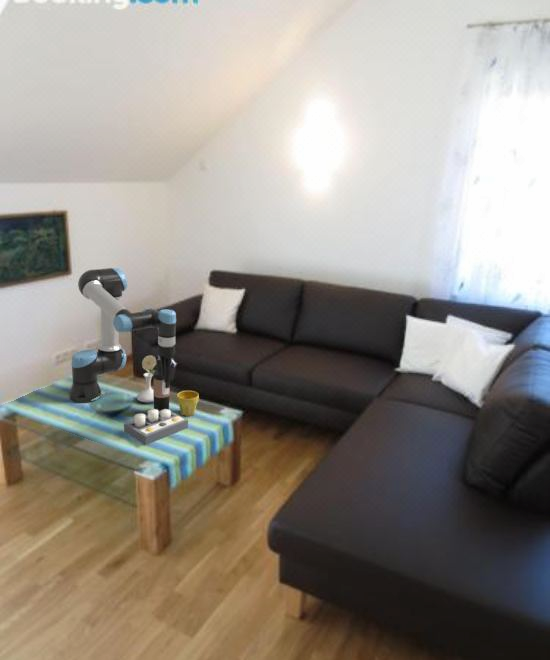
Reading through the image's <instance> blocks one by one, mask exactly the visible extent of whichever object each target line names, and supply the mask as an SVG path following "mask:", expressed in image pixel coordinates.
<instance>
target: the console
mask: <svg viewBox="0 0 550 660" xmlns="http://www.w3.org/2000/svg"><path fill="white" fill-rule="evenodd" d="M160 416H161V411H158V422H156V423H153V424H151V423H149V422H148V414H146V415H145V427H143V428H140V429H138V428H136V427H135V419H132V420H130V421H127V422H124V423H123V432H124V433H126V434H127V435H128V434H129V435H128V436H131V437H132V438H133V439H135V440H137V441H139V442H140V443H141V444H143V445H145V446H147V445H149V444H152V443H155V442H157V441H159V440H162V439H164V438H167V437H169V436H172V435H174V434H177V433H179V432H181V431H182V432H183V431H184V430H187V429H188V428H189V419H186V418H185V417H183V416H181V415H179V414H177V413H175V412H174V411H171V417H169V418H167V419H163V418H161V417H160ZM177 416H179V417H181V418H183V419H185V420H183V421H180V422H178V423H175V424H172V425H170V426H167V427H165V428H162V429H159V430H157V431H154V432H152V433H149V434H144V433H142V432H141V431H140V430H142V429H145V428H148V427H150V426H153V425H156V424H158V423H161V422H164V421H166V420H169V419H172V418H174V417H177Z"/></svg>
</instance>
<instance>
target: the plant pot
mask: <svg viewBox="0 0 550 660" xmlns="http://www.w3.org/2000/svg"><path fill="white" fill-rule="evenodd" d="M199 396H200V395H199V392H197V391H194V390H182V391H180V392H178V393H177V395H176V402H177V403H178V407H179V410H180V415H183V416H184V415H185V416H184V417H190V416H194V414H195V413H196V408H197V404H198V403H199V401H200V397H199Z"/></svg>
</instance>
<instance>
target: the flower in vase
mask: <svg viewBox="0 0 550 660" xmlns="http://www.w3.org/2000/svg"><path fill="white" fill-rule="evenodd" d="M155 357H156V356H154V355H152V354H150V355H147V356H145V357H144V358H143V360H142V361H141V365H142V368H143V370H145V373H143V377H144V380H145V388H144V389H143V390H141V391H139V393H137V396H136V399H137V400H138V401H139V402H142V403H154V397H153V391H154V388H152V387H151V383H152V382H151V381H152V378H153V377H154V372H155V371H156V370H155V369H154V368H155V367H156V366H157V361H156V358H155Z"/></svg>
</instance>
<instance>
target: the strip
mask: <svg viewBox="0 0 550 660" xmlns="http://www.w3.org/2000/svg"><path fill="white" fill-rule="evenodd" d="M179 416H180V415H179ZM179 416H177V417H174V418H172V419H169V420H166V421H164V422H161V423H158V424H156V425H153V426H150V427H148V428H145V429H142V430H140V431H141V432H142V433H144V434H149V433H152V432H154V431H157V430H159V429H162V428H165V427H167V426H170V425H172V424H175V423H178V422H180V421H183V420H185V419H186V418H185V419H183V418H184V417H183V418H181V417H182V416H181V417H179Z"/></svg>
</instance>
